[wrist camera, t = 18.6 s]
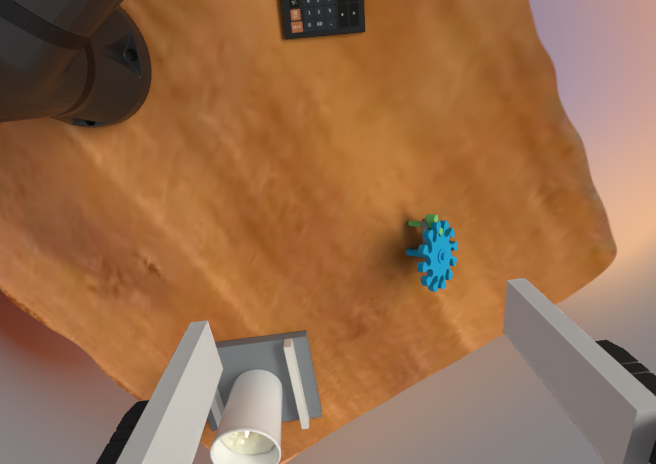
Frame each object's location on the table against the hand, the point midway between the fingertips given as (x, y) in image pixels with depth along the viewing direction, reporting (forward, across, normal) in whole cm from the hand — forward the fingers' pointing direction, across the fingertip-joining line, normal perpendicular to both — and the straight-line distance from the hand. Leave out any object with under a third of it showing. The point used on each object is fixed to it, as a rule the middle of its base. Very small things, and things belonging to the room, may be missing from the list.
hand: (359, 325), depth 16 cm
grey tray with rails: (+35, -17, -35) cm, 53 cm away
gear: (+35, +13, -13) cm, 40 cm away
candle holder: (+33, -17, -36) cm, 52 cm away
